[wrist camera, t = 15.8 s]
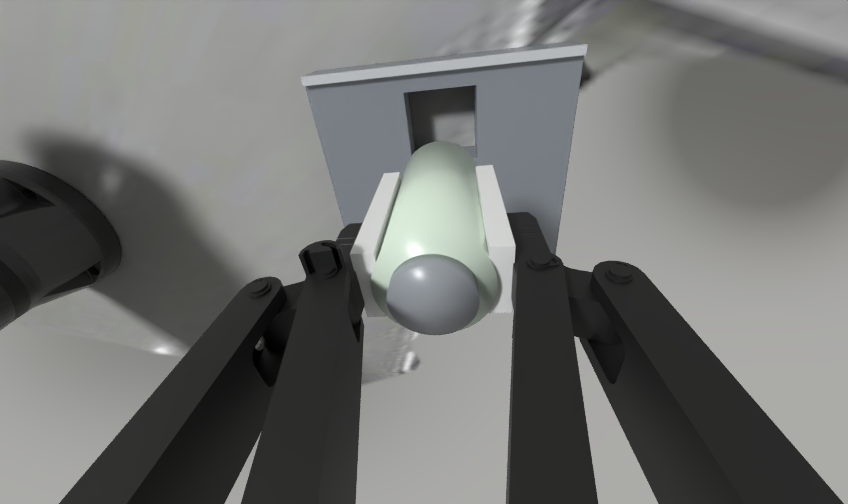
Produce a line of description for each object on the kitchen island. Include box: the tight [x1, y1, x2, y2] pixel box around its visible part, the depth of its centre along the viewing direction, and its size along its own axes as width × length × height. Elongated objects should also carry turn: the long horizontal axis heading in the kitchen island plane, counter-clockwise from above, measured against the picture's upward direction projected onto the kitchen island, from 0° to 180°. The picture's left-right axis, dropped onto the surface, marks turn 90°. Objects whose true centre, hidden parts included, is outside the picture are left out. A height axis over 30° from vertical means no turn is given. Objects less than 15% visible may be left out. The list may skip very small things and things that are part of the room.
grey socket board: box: [301, 42, 588, 254], centre depth 30 cm, size 20×18×3 cm
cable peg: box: [371, 141, 498, 335], centre depth 14 cm, size 4×4×10 cm
